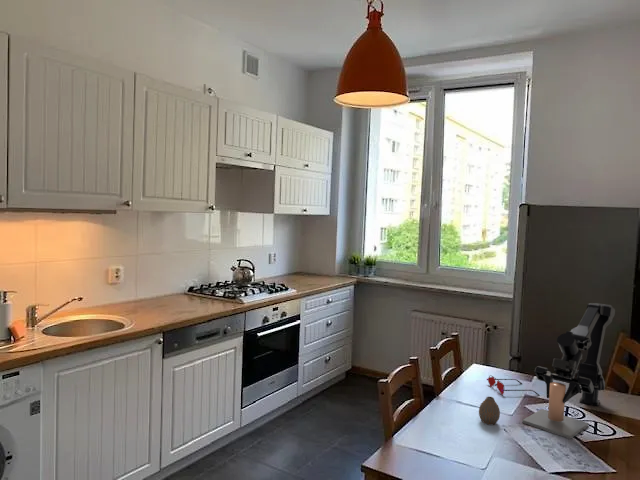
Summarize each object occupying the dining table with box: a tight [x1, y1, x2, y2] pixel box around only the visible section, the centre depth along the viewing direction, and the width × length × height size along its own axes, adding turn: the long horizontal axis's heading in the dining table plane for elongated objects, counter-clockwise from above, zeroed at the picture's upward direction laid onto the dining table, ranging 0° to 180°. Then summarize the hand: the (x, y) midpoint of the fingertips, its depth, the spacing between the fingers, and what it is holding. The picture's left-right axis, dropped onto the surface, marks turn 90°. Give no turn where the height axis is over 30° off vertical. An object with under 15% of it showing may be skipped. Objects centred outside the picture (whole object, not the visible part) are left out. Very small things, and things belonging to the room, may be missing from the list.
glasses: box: [486, 374, 540, 397], centre depth 211 cm, size 14×16×5 cm
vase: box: [478, 396, 501, 426], centre depth 177 cm, size 7×7×9 cm
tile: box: [521, 408, 589, 440], centre depth 177 cm, size 16×16×1 cm
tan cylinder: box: [547, 381, 567, 421], centre depth 177 cm, size 5×5×12 cm
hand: (555, 400), depth 176 cm, fingers open, 5 cm apart
